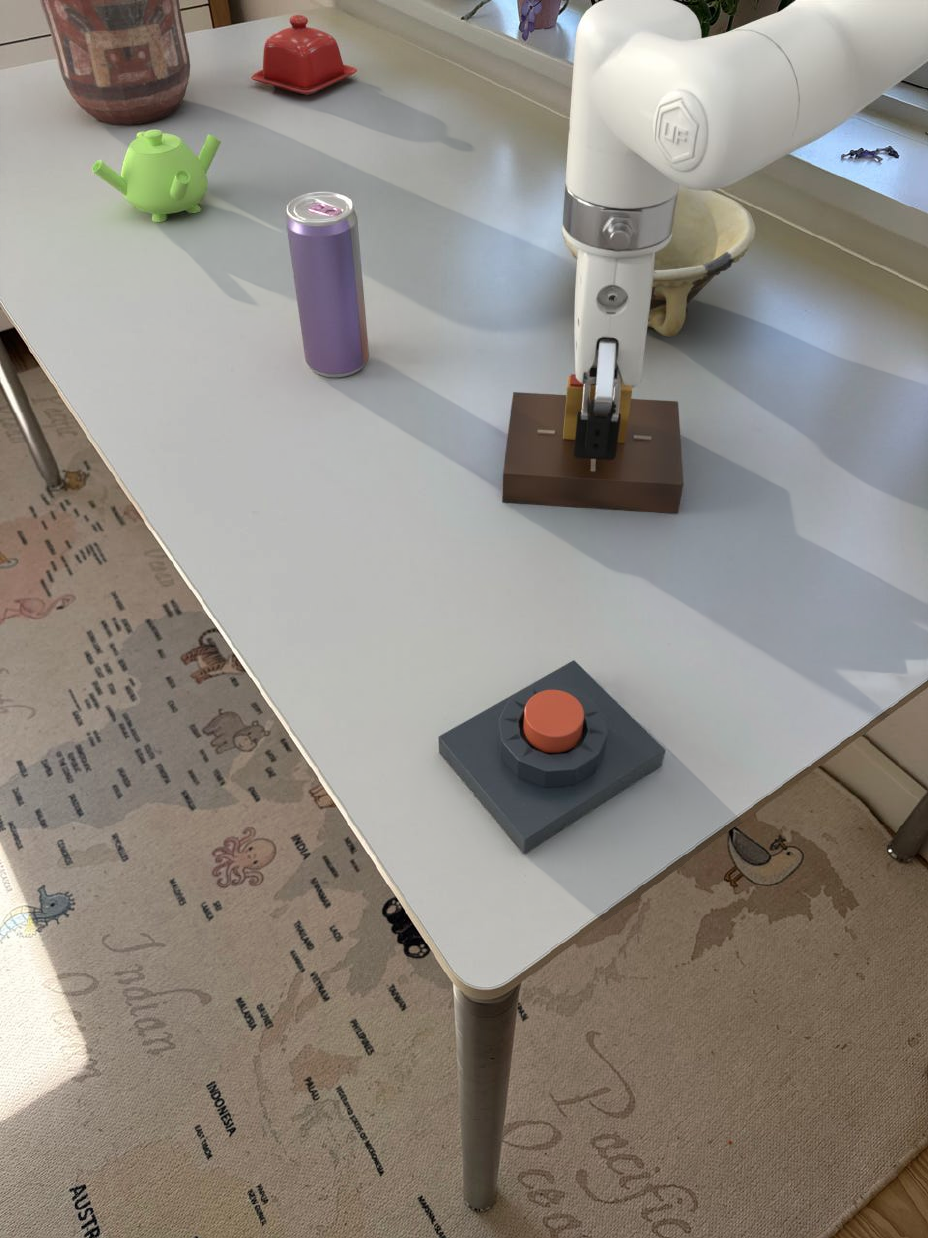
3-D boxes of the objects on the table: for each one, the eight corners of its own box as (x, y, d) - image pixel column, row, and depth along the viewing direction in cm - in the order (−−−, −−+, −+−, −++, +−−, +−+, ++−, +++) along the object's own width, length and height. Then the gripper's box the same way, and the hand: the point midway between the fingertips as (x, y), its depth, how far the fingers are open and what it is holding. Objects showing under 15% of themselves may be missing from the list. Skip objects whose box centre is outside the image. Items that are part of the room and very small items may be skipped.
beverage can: (344, 387, 92) (326, 229, 81) (293, 367, 94) (269, 211, 83) (382, 356, 95) (370, 200, 84) (331, 338, 97) (313, 184, 86)
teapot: (146, 181, 121) (129, 107, 115) (235, 190, 119) (222, 116, 113) (103, 224, 114) (82, 147, 107) (197, 234, 112) (181, 157, 106)
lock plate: (673, 429, 87) (678, 399, 85) (677, 513, 80) (684, 482, 77) (512, 420, 88) (513, 390, 86) (502, 502, 81) (503, 471, 79)
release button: (557, 697, 63) (559, 680, 62) (594, 735, 61) (596, 718, 60) (511, 724, 62) (512, 706, 61) (547, 763, 60) (549, 746, 59)
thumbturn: (624, 431, 82) (632, 376, 78) (625, 443, 81) (632, 388, 77) (563, 427, 82) (568, 372, 79) (563, 439, 81) (567, 384, 78)
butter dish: (301, 62, 148) (294, -4, 142) (362, 78, 143) (357, 11, 137) (247, 86, 141) (237, 19, 135) (309, 104, 137) (301, 35, 131)
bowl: (550, 267, 106) (555, 177, 99) (719, 266, 106) (737, 175, 99) (562, 360, 94) (570, 265, 87) (754, 359, 95) (776, 263, 88)
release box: (572, 675, 69) (576, 641, 66) (662, 765, 64) (670, 732, 61) (438, 752, 64) (437, 719, 62) (523, 855, 59) (526, 823, 57)
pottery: (228, 104, 137) (202, -50, 124) (121, 145, 128) (81, -16, 115) (149, 73, 145) (117, -74, 132) (43, 110, 136) (-3, -45, 123)
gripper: (679, 278, 62) (643, 497, 75) (670, 158, 74) (640, 365, 87) (558, 272, 62) (543, 490, 75) (568, 154, 74) (553, 360, 87)
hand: (595, 422), depth 81 cm, fingers open, 7 cm apart
